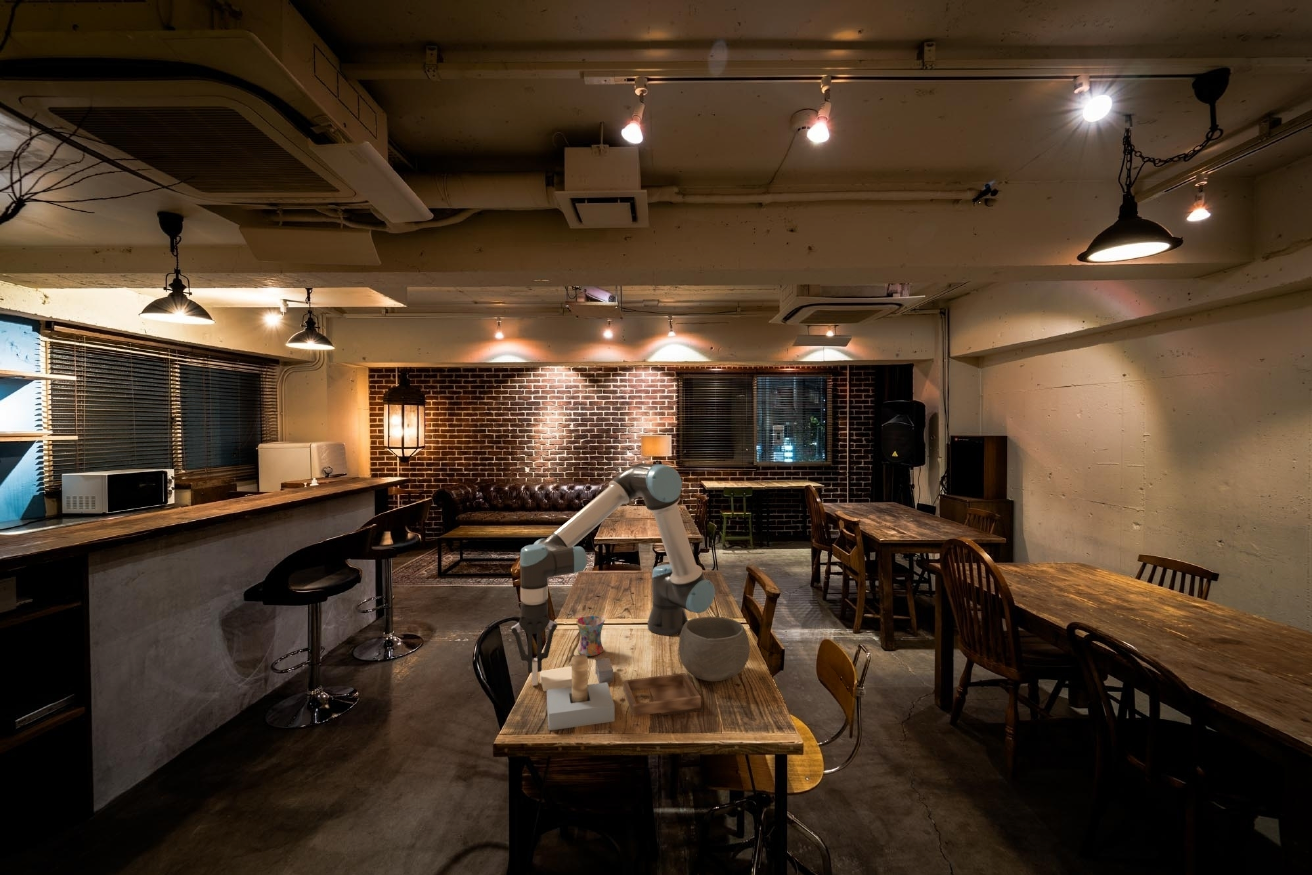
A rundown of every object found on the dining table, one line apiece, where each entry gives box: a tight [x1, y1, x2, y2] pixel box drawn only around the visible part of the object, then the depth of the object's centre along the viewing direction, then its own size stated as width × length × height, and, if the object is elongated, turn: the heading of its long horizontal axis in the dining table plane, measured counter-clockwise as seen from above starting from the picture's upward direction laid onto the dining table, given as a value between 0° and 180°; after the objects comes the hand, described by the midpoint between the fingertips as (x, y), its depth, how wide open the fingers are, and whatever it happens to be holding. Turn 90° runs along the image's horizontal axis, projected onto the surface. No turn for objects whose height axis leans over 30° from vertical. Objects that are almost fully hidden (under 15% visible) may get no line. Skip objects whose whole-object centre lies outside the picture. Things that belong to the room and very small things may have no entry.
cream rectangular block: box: [539, 665, 572, 692], centre depth 149 cm, size 10×8×4 cm
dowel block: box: [546, 682, 616, 731], centre depth 133 cm, size 16×12×5 cm
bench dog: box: [595, 657, 614, 684], centre depth 153 cm, size 4×8×4 cm, turn 14°
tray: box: [622, 672, 702, 717], centre depth 140 cm, size 18×14×4 cm
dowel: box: [571, 654, 589, 703], centre depth 133 cm, size 4×4×14 cm
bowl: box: [678, 616, 751, 682], centre depth 155 cm, size 21×21×15 cm
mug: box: [575, 615, 606, 657], centre depth 173 cm, size 12×9×11 cm
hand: (534, 682), depth 148 cm, fingers closed
